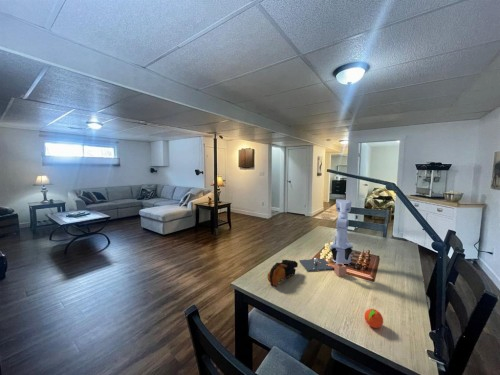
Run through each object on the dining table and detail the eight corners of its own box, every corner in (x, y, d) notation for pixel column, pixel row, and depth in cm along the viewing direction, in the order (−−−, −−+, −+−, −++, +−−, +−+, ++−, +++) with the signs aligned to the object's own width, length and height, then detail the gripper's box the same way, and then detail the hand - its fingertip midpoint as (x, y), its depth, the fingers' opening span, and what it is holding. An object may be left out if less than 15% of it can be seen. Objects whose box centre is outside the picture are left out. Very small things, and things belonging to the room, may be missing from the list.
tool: (295, 287, 131) (301, 262, 134) (273, 288, 116) (281, 260, 118) (284, 282, 137) (290, 258, 139) (262, 282, 121) (269, 255, 124)
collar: (341, 272, 136) (342, 263, 135) (346, 276, 131) (346, 266, 130) (334, 272, 135) (334, 263, 134) (338, 276, 130) (339, 267, 129)
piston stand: (323, 259, 153) (323, 253, 152) (333, 269, 139) (333, 262, 138) (299, 261, 150) (299, 254, 150) (307, 271, 136) (307, 264, 136)
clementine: (376, 336, 86) (378, 319, 85) (359, 325, 91) (360, 310, 90) (385, 327, 90) (386, 311, 90) (368, 317, 96) (369, 302, 95)
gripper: (333, 241, 126) (332, 263, 127) (356, 240, 127) (355, 262, 129) (327, 237, 133) (326, 258, 134) (349, 236, 134) (348, 257, 136)
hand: (340, 259), depth 132 cm, fingers open, 7 cm apart
